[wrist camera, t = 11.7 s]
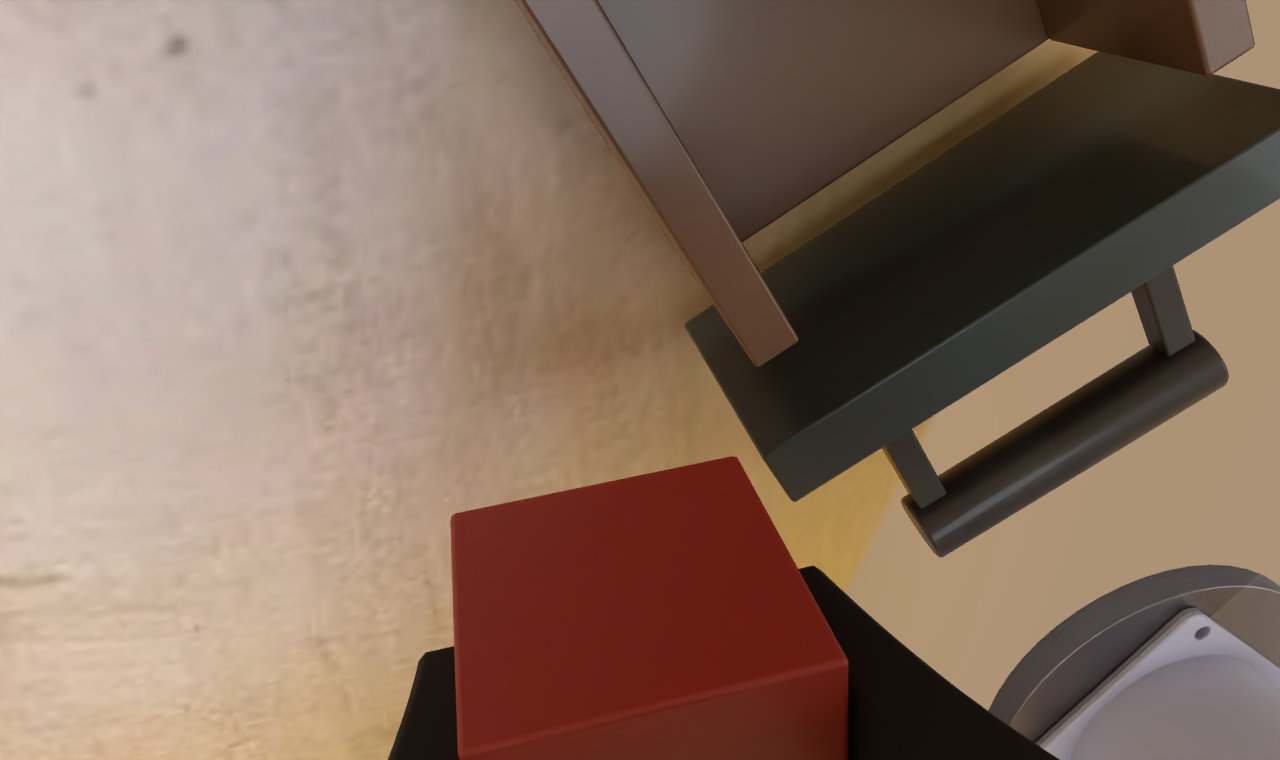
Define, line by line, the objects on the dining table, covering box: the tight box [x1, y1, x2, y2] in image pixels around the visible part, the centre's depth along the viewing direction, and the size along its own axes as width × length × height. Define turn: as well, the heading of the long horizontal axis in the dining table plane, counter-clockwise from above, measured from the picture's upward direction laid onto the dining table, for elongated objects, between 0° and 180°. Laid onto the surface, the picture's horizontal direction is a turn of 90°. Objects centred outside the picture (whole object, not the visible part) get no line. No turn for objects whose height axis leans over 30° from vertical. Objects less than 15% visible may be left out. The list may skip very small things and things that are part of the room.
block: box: [450, 456, 848, 760], centre depth 12 cm, size 4×4×4 cm
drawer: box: [514, 0, 1280, 557], centre depth 15 cm, size 17×10×5 cm, turn 32°
